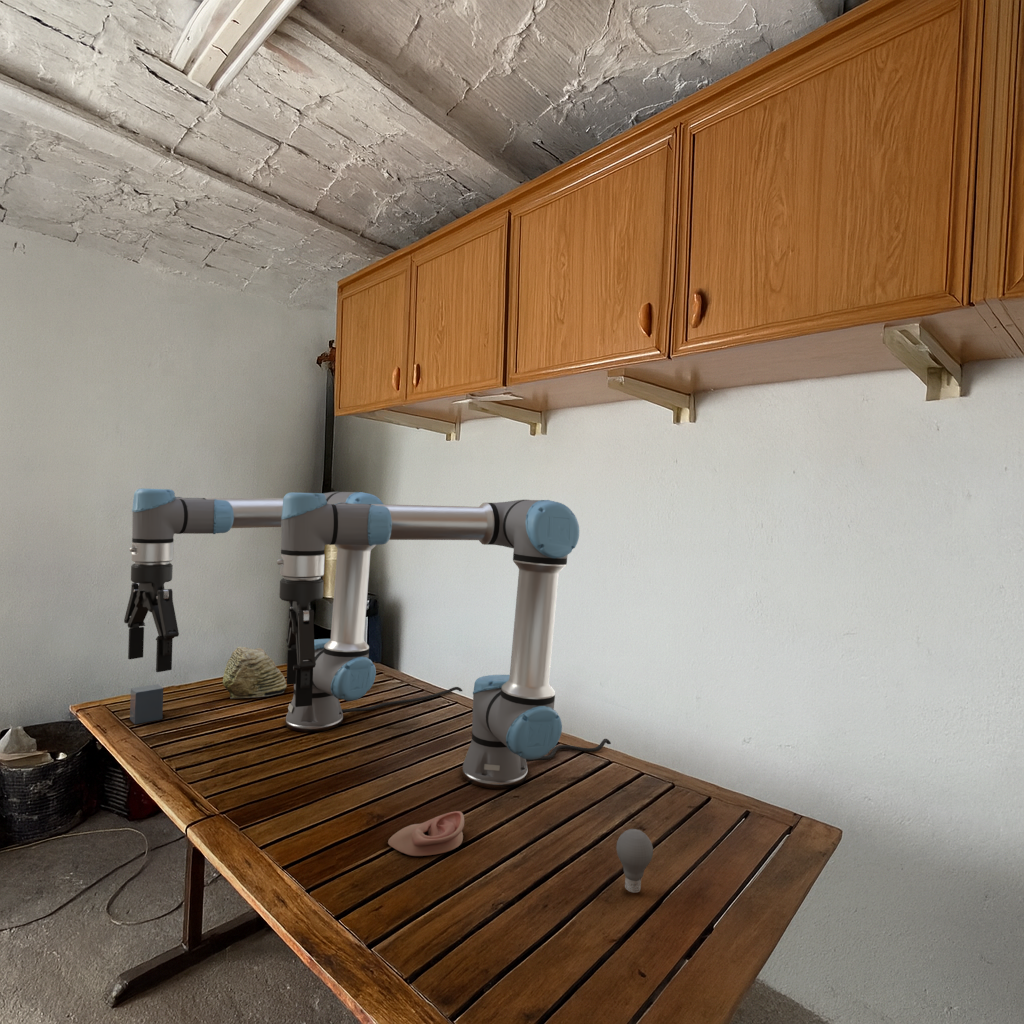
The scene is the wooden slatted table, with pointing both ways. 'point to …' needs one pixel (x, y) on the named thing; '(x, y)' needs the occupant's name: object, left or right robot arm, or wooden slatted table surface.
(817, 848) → the wooden slatted table surface
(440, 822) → the anatomical model
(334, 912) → the wooden slatted table surface
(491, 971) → the wooden slatted table surface
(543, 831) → the wooden slatted table surface
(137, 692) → the brick
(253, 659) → the fossil
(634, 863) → the light bulb
